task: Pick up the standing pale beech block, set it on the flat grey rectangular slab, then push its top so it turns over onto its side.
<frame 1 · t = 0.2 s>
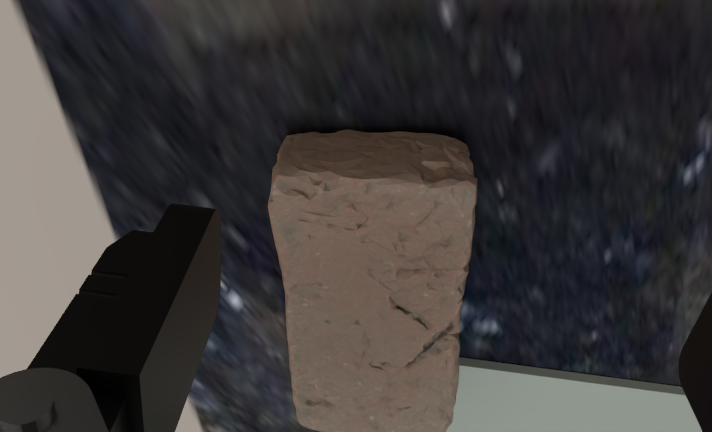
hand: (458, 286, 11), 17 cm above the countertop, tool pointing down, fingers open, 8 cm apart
brick: (378, 266, 34), on the countertop
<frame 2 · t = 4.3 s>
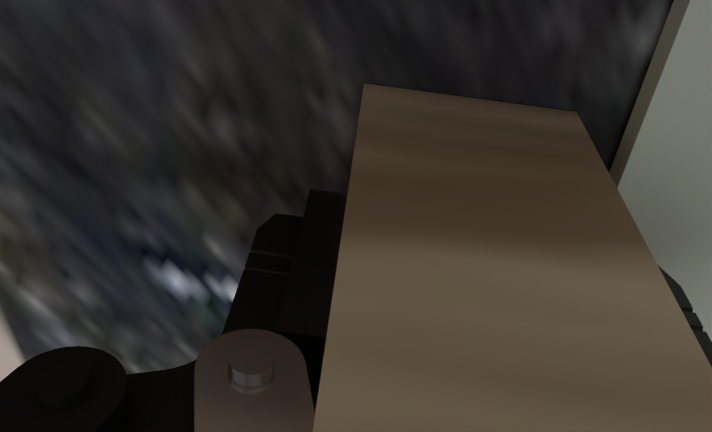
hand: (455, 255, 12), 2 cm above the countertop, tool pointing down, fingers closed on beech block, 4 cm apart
beech block: (449, 189, 13), on the countertop, touching gripper
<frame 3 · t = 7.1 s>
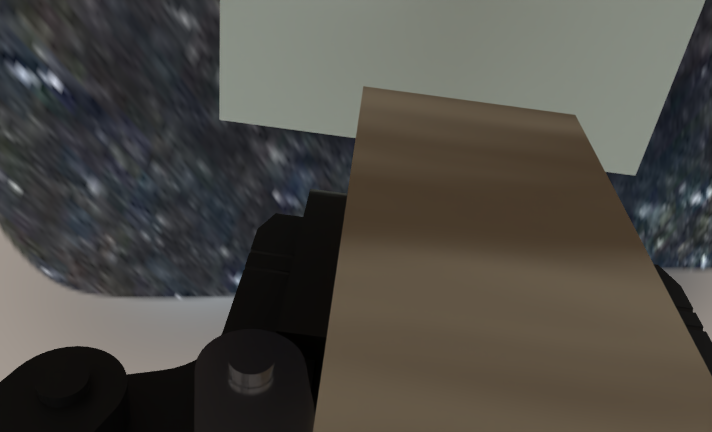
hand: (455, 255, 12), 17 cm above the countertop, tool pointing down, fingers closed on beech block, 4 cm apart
flat grey rectangular slab: (454, 3, 26), on the countertop
beech block: (448, 191, 13), point 15 cm above the countertop, touching gripper
when the fingers open (4 cm above the countertop, at t = 10.0 s): beech block stays where it is, resting on flat grey rectangular slab.
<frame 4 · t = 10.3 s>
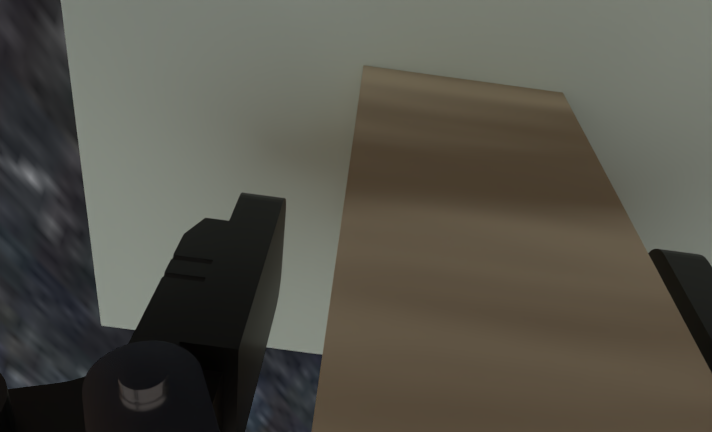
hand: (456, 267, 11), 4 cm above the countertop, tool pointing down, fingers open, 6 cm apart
flat grey rectangular slab: (488, 160, 15), on the countertop
beech block: (444, 166, 14), point 1 cm above the countertop, touching flat grey rectangular slab
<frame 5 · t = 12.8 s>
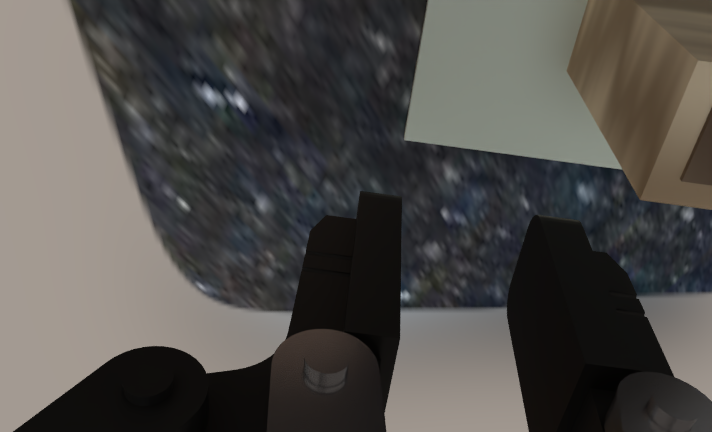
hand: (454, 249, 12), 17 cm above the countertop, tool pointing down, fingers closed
flat grey rectangular slab: (654, 27, 26), on the countertop
beech block: (632, 28, 26), point 1 cm above the countertop, touching flat grey rectangular slab
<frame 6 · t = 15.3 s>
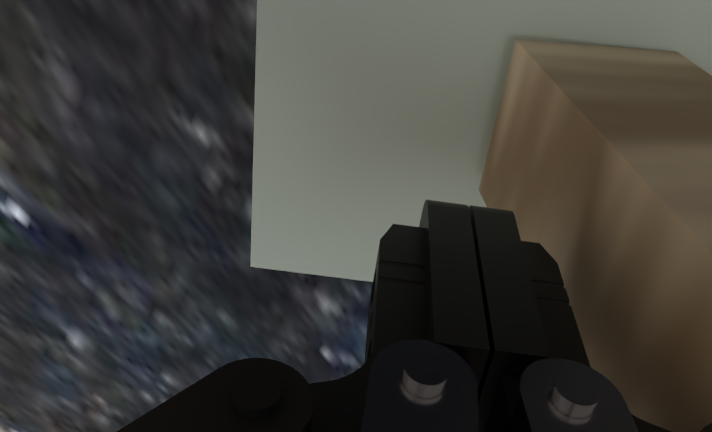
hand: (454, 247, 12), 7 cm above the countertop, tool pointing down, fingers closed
flat grey rectangular slab: (603, 113, 17), on the countertop
beech block: (572, 124, 16), point 1 cm above the countertop, tilted 10°, touching gripper, flat grey rectangular slab
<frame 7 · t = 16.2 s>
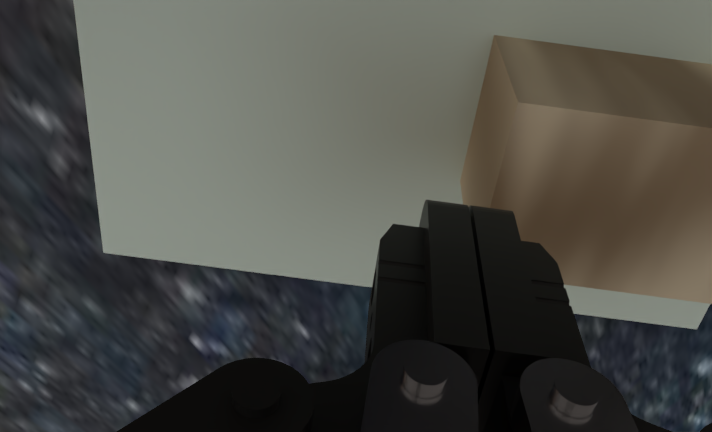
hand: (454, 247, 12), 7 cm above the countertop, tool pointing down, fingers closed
flat grey rectangular slab: (435, 98, 17), on the countertop
beech block: (483, 149, 15), point 3 cm above the countertop, tilted 90°, touching flat grey rectangular slab
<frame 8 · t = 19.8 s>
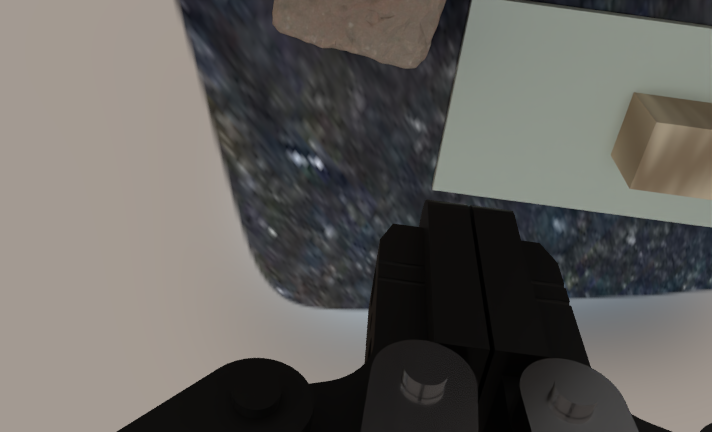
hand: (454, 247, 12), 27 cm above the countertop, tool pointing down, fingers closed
flat grey rectangular slab: (602, 117, 39), on the countertop
beech block: (631, 139, 37), point 3 cm above the countertop, tilted 90°, touching flat grey rectangular slab
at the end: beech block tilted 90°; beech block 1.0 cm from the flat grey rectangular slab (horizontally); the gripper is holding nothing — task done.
